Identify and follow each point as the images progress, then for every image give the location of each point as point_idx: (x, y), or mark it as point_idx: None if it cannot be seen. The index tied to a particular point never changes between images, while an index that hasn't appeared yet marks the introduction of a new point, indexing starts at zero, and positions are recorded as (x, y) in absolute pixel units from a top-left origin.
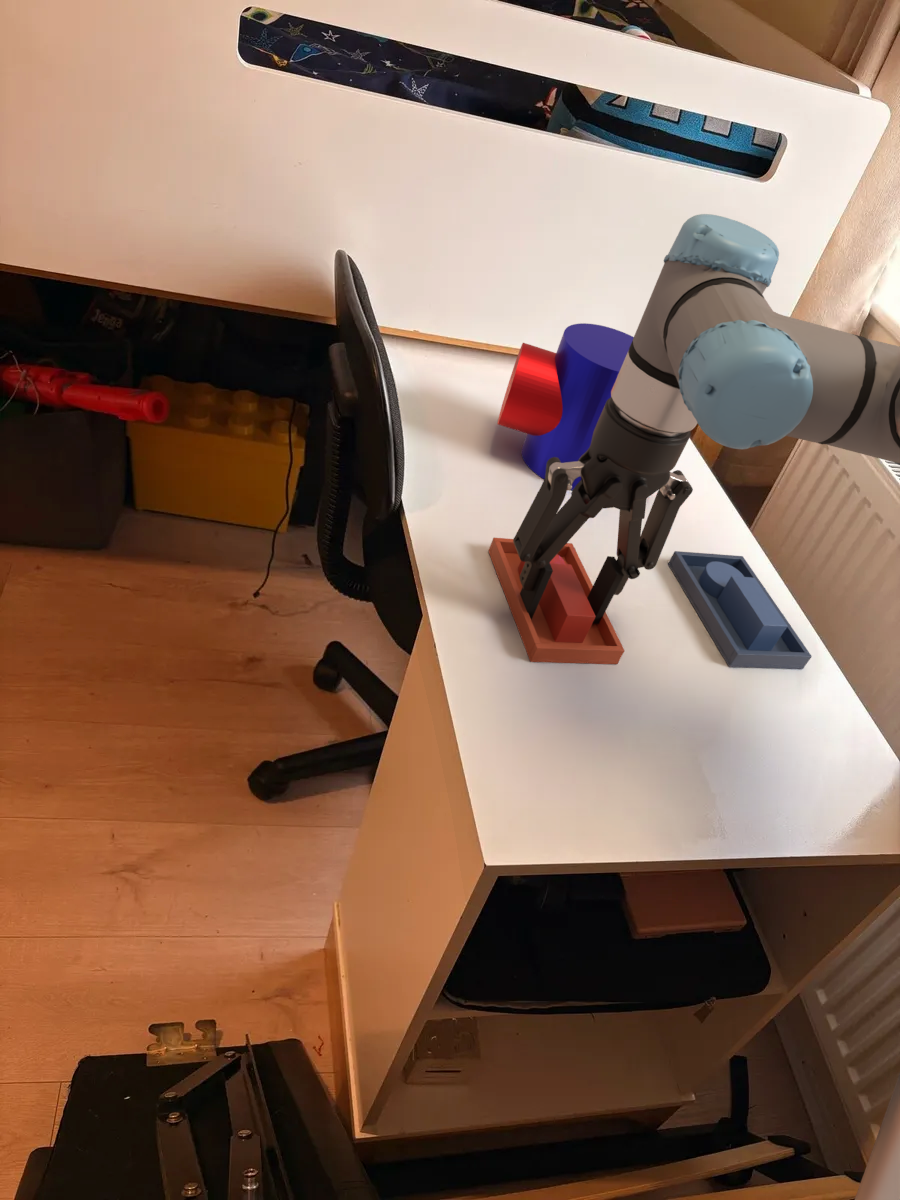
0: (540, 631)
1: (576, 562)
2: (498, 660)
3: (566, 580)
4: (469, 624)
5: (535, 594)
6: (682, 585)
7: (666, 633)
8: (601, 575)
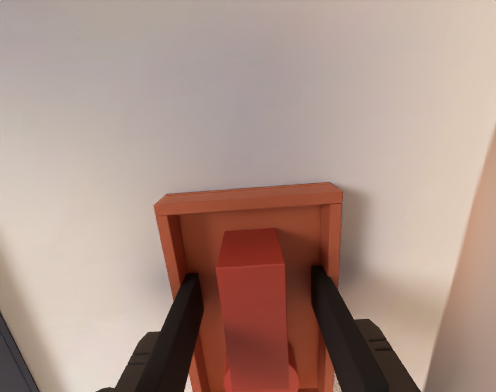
0: (295, 248)
1: (201, 390)
2: (386, 180)
3: (255, 354)
4: (407, 252)
5: (348, 310)
6: (22, 367)
7: (62, 272)
8: (183, 378)
